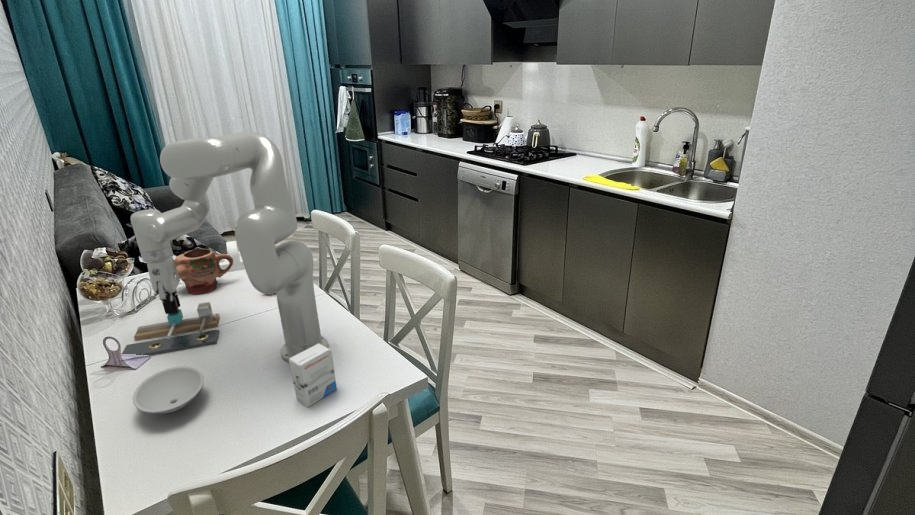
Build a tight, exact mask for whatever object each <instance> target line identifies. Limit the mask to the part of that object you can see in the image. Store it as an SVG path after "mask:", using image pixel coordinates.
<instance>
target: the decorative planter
mask: <svg viewBox="0 0 915 515" xmlns="http://www.w3.org/2000/svg"><path fill="white" fill-rule="evenodd" d="M222 259H227V260H228V261H229V263H230V264H229V266H228V267H227V268H226V269H224V270H223V269H221V268H220V265H219V262H220V260H222ZM173 260H174V263H175V265H176V268H177V271H178V274H179V278H180V281H182V282H183V283H184V285H185V290H186V292H187V293H188V294H191V295H203V294H208V293H211V292H213V291H215V290H216V288H217V287H218V281H217V278H222V277H223V276H224V275H226V274H228V272H227V271H229V269H230V268H231V266H232V265H233V259H232V257H231V256H230V255H228V253H218V254H216V253H215V252H214V251H213V250H212V249H209V248H194V249H192V250H188V251H185V252H184V253H181V254H179V255H177V256H176V257H175V258H174V259H173Z"/></svg>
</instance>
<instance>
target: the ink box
mask: <svg viewBox="0 0 915 515" xmlns="http://www.w3.org/2000/svg"><path fill="white" fill-rule="evenodd" d="M333 360H334V359H333V354H332V349H331V348H329V347H328V348H327V347H326V346H324V345H322V344H320V343H318V344H316V345H314V346H313V347H311V348H309V349H307V350H305V351H303V352H301V353H299V354H297V355H295V356H293V357H291V358H289V361H288V362H289V368H290V373H291V377H292V378H291V379H292V382H293V383H292V384H293V388H294V392H295V393H294V394H295V397H296V400H297V401H298V402H300V403H301V404H302V405H304V406H306V408H309V407H311V406H312V405H314V404H315V403H317V402H319V401H320V400H321V399H324V397H326V396H328V395H329V394H331V393H332V392H334V391H335V390H337V388H338V387H337V380H336V374H335V367H334V361H333Z"/></svg>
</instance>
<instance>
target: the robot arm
mask: <svg viewBox="0 0 915 515" xmlns="http://www.w3.org/2000/svg"><path fill="white" fill-rule="evenodd" d="M159 161H160V162H159V163H160V166H161V168H162V170H163V172H164V173H165V174H166V175H167V176H169V177H170V179H169V182H168V183H169V189H170V190H171V192H172V193H173V194H174V195H175V196H177V197H178V198H180V199H181V200H184V201H183V203H182V204H181V206H179V207H175V208H173V209H170V210H167V211H164V212H161V211H160V210H158V209H154V208H153V209H152V208H150V209H143V210H142V209H141V210H138V211H135V212H133V213H132V214H131V215H130V222H131V227H132V229H133V233H134V236H135V239H136V242H137V246H138V248H139V249H138V250H139V253H140V255H141V259H142V261H143V263H146V266H147V270H148V274H149V275H148V276H149V279H150V283H151V286H152V289H153V290H152V291H153V292H154V294H155V295H157V296H158V298H159V300H161V303H162V306H163V311H164V313H165V314H166V315H168V314H171V313H177V312H178V309H177V306H176V302H175V300H173V296H175V298H176V301H177V305H178V308H180V307H181V304H180V298H179V295H178V291H177V288H178V286H179V283H180V281H181V279H180V278H179V274H178V271H177V268H176V265H175V263H174V260H175V259H174V258H173V256H174V253H173V249H172V246H171V245H172V244H171V241H173V240H175V239H178V238H180V237H184V236H185V235H187V234H190V233H192V232H196V230H198V229H199V228H200V227H201V226H202V224H203V223H204V222H205V219H206V217H207V216H208V214H209V211H210V202H209V197H208V195H207V192H208V191H209V188H210V186H211V184H212V181H214V178H217V177H223V176H226V175H230V174H233V173H236V172H240V171H243V170H246V169H250V170H251V174H250V178H249V189H250V194H251V197H252V200H253V205H254V208H253V209H251V210H248V211H246V212H244V213H243V214H242V215H240V216H239V218H238V219H237V220H236V222H235V227H234V237H235V241H237V245H238V249H239V254H241V257H242V260H243V263H244V266H245V273H246V275H247V278H248V280H249V282H250V284H251V285H252V287H253V288H254V289H255V290H256V291H258V292H259V293H261V294H263V295H272V294H273V295H274V294H275V293H276V301H277V307H278V312H279V313H278V314H279V317H280V323H281V328H282V333H283V339H284V343H285V344H283V345H282V346H281V349H280V356H281V358H282V359H283V360H285V361H287V362H289V358H291V357H293V356H295V355H297V354H299V353H301V352H303V351H305V350H307V349H309V348H311V347H313V346H314V345H316V344H318V343H320V344H322V345H324V346H326V347H327V348H329V342H328V339H327V338H326V337H324V336H322V333H321V328H320V321H319V313H318V308H317V301H316V295H315V287H314V286H315V285H314V257H313V254H312V251H311V249H310V248H309V246H307V245H306V244H305V243H303V242H301V241H299V240H289V241H286V242H285V241H284V240H286V239H287V238H289V237H291V236H293V234H295V232H296V231H297V228H298V221H297V220H298V219H297V216H296V212H295V209H294V205H293V201H292V198H291V197H292V196H291V194H290V190H289V187H288V183H287V180H286V179H287V178H286V175H285V174H286V173H285V168H284V162H283V157H282V154H281V152H280V150H279V148H278V147H277V145H276V143H275V142H273V140H272V139H271V138H270V137H268V136H266V135H264V134H262V133H259V132H255V131H240V132H235V133H230V134H224V135H219V136H215V137H213V136H212V137H211V138H207V137H193V138H189V139H184V140H183V139H181V140H177V141H172V142H170V143H168V144H167V145H165V146H164V147H163V148H162V150H161V151H160V156H159ZM282 241H284V242H282ZM281 242H282V243H281ZM278 243H280V244H279V245H277V244H278ZM276 245H277V246H276Z"/></svg>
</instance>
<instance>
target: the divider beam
mask: <svg viewBox="0 0 915 515" xmlns="http://www.w3.org/2000/svg"><path fill="white" fill-rule="evenodd" d="M196 311H197V314H198V315H197V317H191V318H184V319H182V321H181V323H179V324H176V325H175V327H174V330H173V332H172V334H171V336H173V335H178V334H184V333H190V332H196V331H199V332H200V335H201V336H202V335H203V333H202V332H203V330H207V329H216V328H218V327H219V324H220V319H221V316H220V313H215V314H214V313H213V308H212V305H211V302H210V301H207V302H200V303H198V305H197V309H196ZM171 327H172V325H169V322H168V321H166V322H165V321H164V322H160V323H153V324H148V325H146V324H145V325H141V326H138V327H137V328H136V329H137V330H136V332H135V334H134V336H133V338H134V341H135V342H138V341H143V340H149V339H150V340H151V339H154V338H160V337H167V335H168V333H169V331H170V329H171ZM199 332H198V333H199Z"/></svg>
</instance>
